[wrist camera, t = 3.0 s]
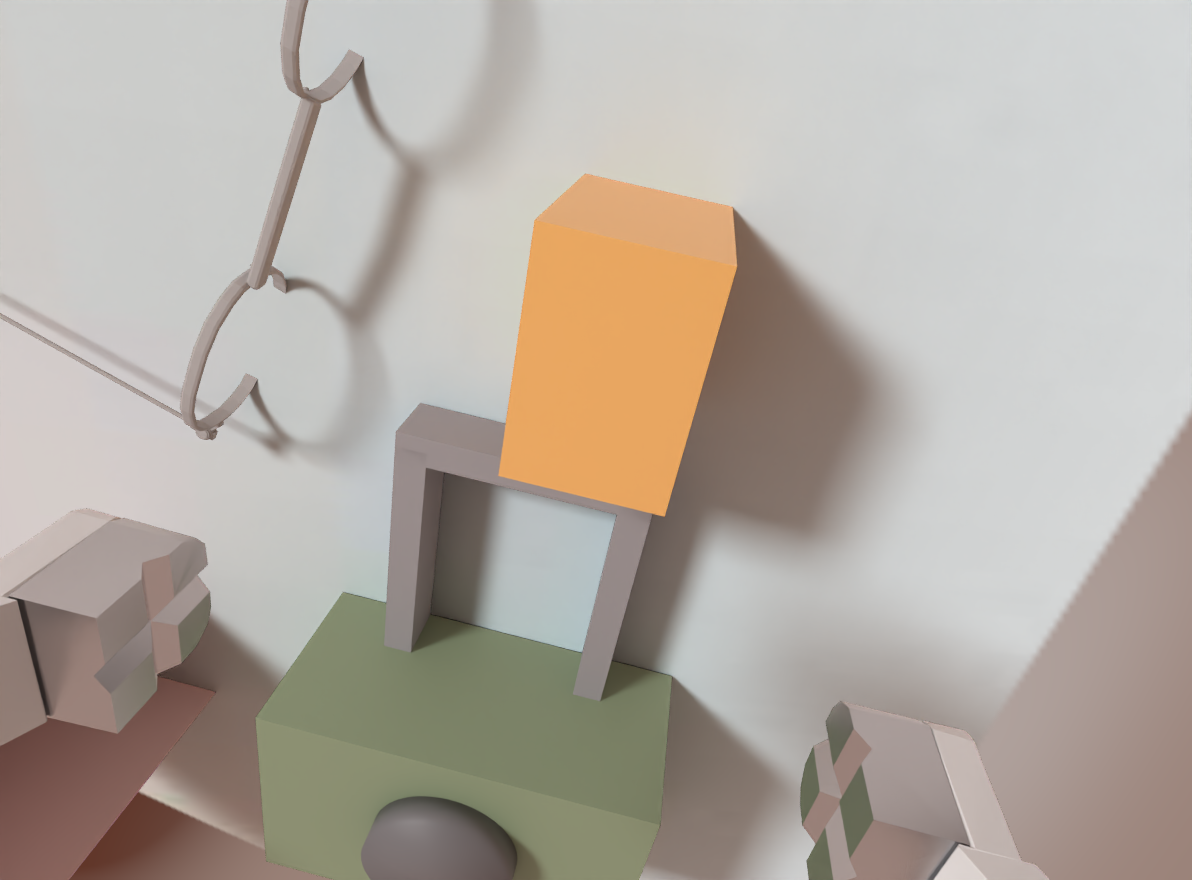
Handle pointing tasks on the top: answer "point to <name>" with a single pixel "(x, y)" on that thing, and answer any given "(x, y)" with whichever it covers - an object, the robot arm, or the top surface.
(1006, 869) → the robot arm
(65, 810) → the greeting card
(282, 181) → the eyeglasses
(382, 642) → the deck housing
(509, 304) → the top surface
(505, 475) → the chute block
